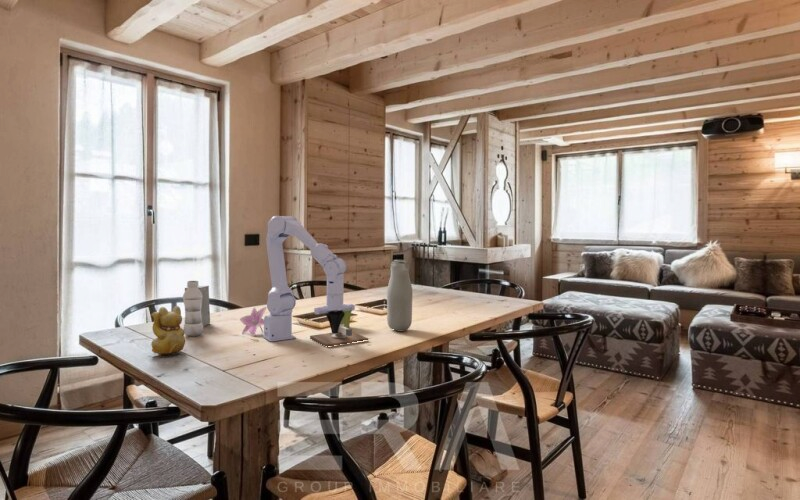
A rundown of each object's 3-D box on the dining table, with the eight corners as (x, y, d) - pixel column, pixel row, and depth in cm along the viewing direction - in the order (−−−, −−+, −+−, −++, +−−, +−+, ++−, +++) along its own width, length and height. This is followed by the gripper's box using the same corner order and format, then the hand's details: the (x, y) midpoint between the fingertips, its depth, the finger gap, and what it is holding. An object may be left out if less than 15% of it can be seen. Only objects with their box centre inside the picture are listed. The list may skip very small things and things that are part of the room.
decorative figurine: (179, 348, 152) (178, 303, 151) (191, 353, 147) (191, 306, 146) (148, 355, 144) (147, 307, 143) (159, 360, 139) (159, 311, 138)
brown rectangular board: (327, 347, 156) (327, 339, 156) (310, 339, 167) (310, 330, 167) (368, 341, 165) (368, 333, 165) (349, 333, 176) (349, 325, 176)
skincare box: (202, 328, 181) (201, 287, 180) (183, 327, 181) (183, 287, 180) (211, 323, 190) (210, 284, 189) (193, 322, 190) (193, 284, 189)
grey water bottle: (412, 328, 187) (413, 258, 185) (410, 334, 177) (411, 261, 175) (388, 327, 188) (389, 258, 186) (384, 333, 178) (386, 260, 176)
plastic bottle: (196, 338, 165) (195, 282, 164) (179, 337, 166) (178, 282, 165) (207, 334, 171) (206, 280, 170) (190, 333, 173) (190, 279, 171)
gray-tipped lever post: (345, 336, 158) (345, 328, 158) (332, 330, 166) (332, 323, 166) (354, 335, 160) (354, 327, 160) (341, 329, 168) (341, 322, 168)
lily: (239, 332, 179) (231, 313, 174) (268, 318, 184) (261, 299, 179) (250, 349, 170) (241, 329, 165) (279, 333, 175) (272, 314, 170)
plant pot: (341, 331, 179) (341, 309, 179) (324, 328, 185) (324, 306, 184) (358, 327, 187) (358, 306, 186) (341, 324, 192) (341, 303, 192)
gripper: (320, 297, 152) (320, 337, 153) (359, 293, 160) (358, 332, 161) (311, 294, 158) (311, 333, 159) (349, 291, 166) (348, 328, 167)
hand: (334, 332), depth 160 cm, fingers closed
